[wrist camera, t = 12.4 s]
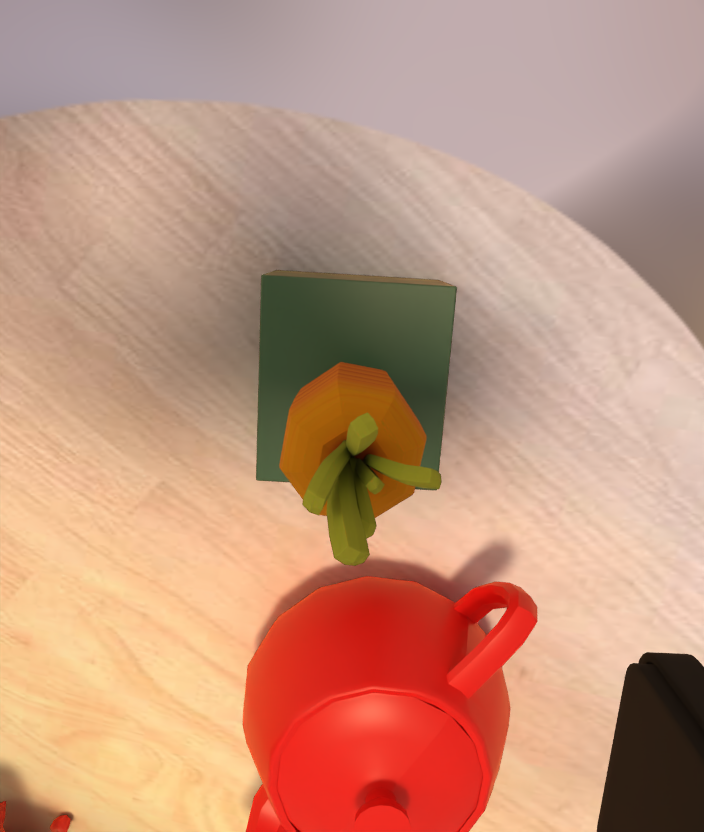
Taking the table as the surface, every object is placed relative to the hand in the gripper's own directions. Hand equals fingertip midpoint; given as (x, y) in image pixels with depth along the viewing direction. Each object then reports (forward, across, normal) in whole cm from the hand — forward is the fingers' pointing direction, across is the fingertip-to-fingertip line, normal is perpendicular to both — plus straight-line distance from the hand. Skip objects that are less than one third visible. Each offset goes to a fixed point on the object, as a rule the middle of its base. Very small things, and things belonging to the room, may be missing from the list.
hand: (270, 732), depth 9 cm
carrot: (+24, -1, 0) cm, 24 cm away
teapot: (+30, -3, +20) cm, 36 cm away
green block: (+30, -2, 0) cm, 30 cm away
